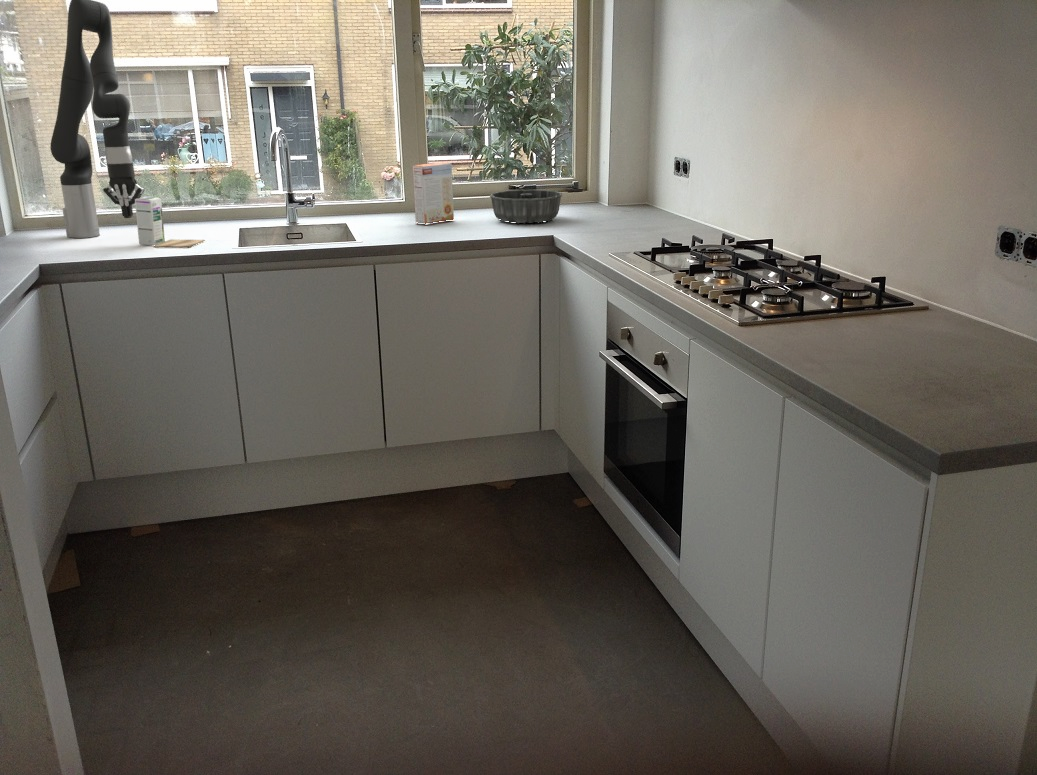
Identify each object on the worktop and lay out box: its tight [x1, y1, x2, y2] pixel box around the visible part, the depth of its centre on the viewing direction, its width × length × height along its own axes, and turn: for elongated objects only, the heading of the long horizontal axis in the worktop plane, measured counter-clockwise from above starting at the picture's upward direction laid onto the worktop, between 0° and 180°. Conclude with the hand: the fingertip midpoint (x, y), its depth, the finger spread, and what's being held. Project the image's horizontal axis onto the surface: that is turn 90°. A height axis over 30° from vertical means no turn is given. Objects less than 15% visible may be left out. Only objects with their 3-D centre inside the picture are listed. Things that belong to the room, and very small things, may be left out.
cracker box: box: [412, 162, 455, 224], centre depth 324 cm, size 14×6×21 cm, turn 136°
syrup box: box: [134, 196, 166, 246], centre depth 285 cm, size 6×6×14 cm
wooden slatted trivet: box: [153, 238, 206, 248], centre depth 287 cm, size 12×12×1 cm
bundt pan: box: [489, 189, 563, 224], centre depth 329 cm, size 26×26×10 cm
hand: (128, 217), depth 285 cm, fingers closed
